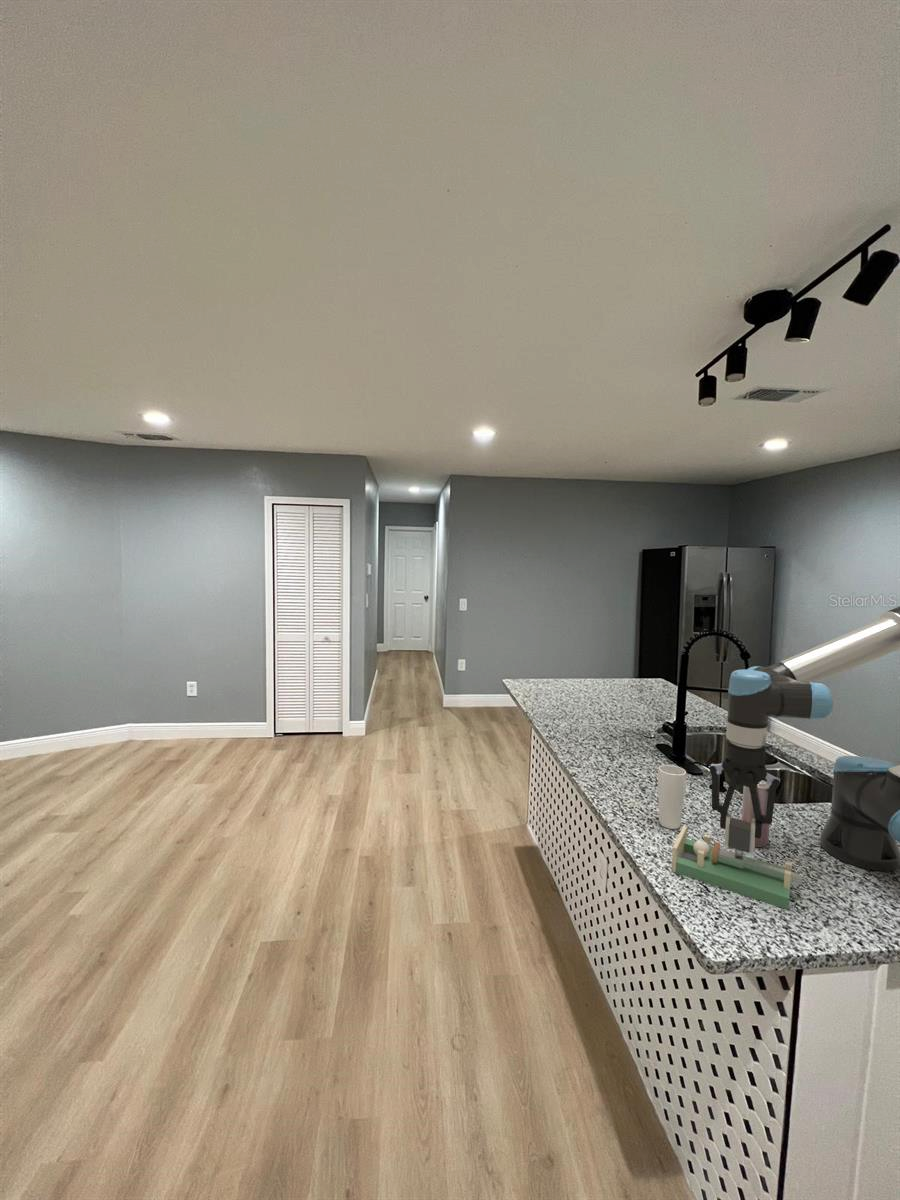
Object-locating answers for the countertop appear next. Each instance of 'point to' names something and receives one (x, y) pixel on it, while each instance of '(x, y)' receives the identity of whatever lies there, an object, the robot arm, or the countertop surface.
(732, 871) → the board
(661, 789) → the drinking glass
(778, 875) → the grey slider
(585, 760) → the countertop surface
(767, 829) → the beverage can
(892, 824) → the robot arm
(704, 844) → the ball
